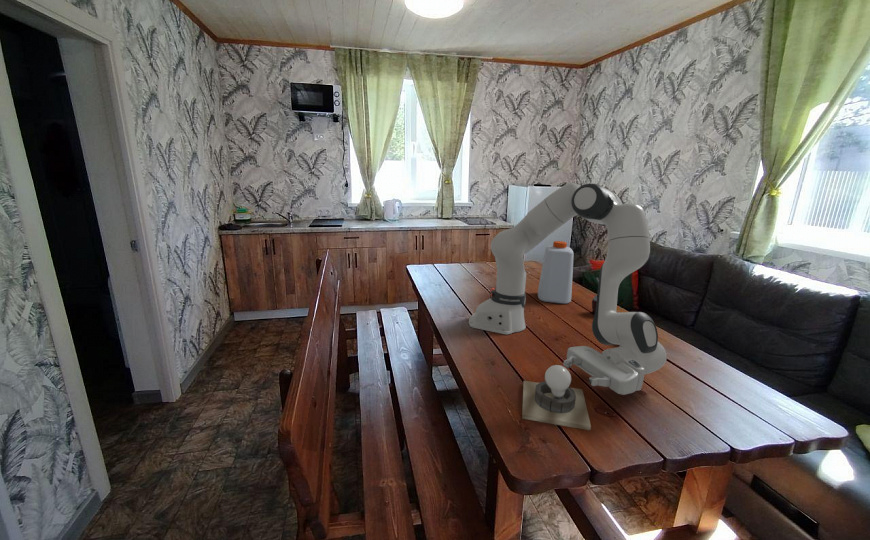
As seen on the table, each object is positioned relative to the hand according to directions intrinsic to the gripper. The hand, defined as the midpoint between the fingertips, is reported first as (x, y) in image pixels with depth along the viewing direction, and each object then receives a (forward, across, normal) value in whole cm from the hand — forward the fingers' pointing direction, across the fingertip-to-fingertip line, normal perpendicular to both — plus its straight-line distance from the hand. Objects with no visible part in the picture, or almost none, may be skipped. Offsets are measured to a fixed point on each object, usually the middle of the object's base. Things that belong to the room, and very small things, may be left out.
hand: (577, 372), depth 99 cm
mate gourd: (-56, -47, +8) cm, 74 cm away
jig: (+7, 0, +8) cm, 11 cm away
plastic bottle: (-50, -70, +8) cm, 87 cm away
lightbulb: (+6, +2, +7) cm, 10 cm away
